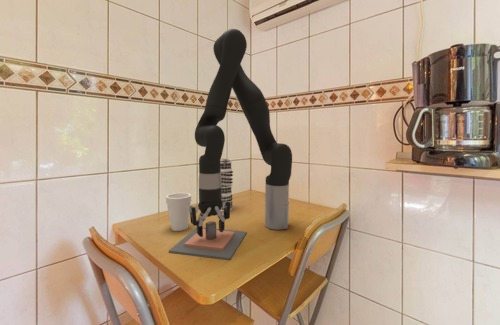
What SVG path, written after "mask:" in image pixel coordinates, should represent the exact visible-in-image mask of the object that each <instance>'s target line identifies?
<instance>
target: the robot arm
mask: <svg viewBox="0 0 500 325" xmlns="http://www.w3.org/2000/svg"><path fill="white" fill-rule="evenodd" d="M247 47H248V45H247V39H246V36H245V35H244V34H243V32H242V31H241V30H239V29H237V28H230V29H227V30H226V31H223V33H222V34H221V35H220V36H219V37H218V38H217V39H216V40H215V41H214V44H213V47H212V48H213V54H214V57H215V59H216V61H217V63H218V64H219V67H218V69H217V73H216V75H215V77H214V79H213V80H212V81H213V82H212V84H211V86H210V88H209V91H208V95H207V98H206V102H205V107H204V110H203V113H202V114H201V116H200V118H199V120H198V123H197V125H196V128H195V129H194V140H195V142H196V144H197V145H198V146H200V147H203V148H205V150H204V154H202V155H200V156H199V159H198V201H199V202H198V204H197V205H195V206H193V205H190V213H189V220H190V224H192V226H196V227H197V234H198V235H199V236H200V237H203V228H204V226H203V224H204V222H205V221H206V219H207V218H209V217H213V216H214V217H215V216H217V218H218V229H219V231H220V232H223V230H226V229H225V226H226V225H225V221H226V220H229V219H230V217H231V216H230V215H231V211H230V202H228V201H224V202H222V200H221V199H222V182H221V165H220V164H221V163H220V160H221V159H222V157H223V156H222V155H223V152H224V147H225V141H226V137H225V132H224V130H223V129H222V127H220V125H218V123H220V122H221V121H223V120H224V119H225V117H226V114H227V110H228V106H229V101H230V98H231V93H232V90H233V93H234V95H235V96H236V98H237V100H238V103H239V105H240V108H241V110H242V113H243V114H244V116H245V118H246V121H247V122H248V124H249V127H250V130H251V131H252V133H253V136H254V138H255V140H256V143H257V145H258V148H259V151H260V154H261V157H262V160H263V161H264V162H265V163H266V164H267V165H268V166H270V173H269V174H268V175H267V176H266V177H265V186H264V188H265V194H264V196H265V197H264V198H265V200H264V201H265V206H264V208H265V209H264V212H265V213H264V225H265V227H266V228H267V229H270V230H275V231H276V230H277V231H278V230H279V231H280V230H288V228H289V224H290V223H289V218H290V201H289V198H290V197H289V196H290V193H289V192H290V191H289V190H290V189H289V188H290V179H291V176H292V166H293V153H292V148H291V147H290V146H289V145H288V144H285V143H278V141H276V139H275V137H274V134H273V132H272V129H271V117H270V116H271V114H270V108H269V105H268V103H267V101H266V98H265V96H264V93H263V92H262V90H261V89H260V87H259V86H257V84H256V83H255V82H253V81H252V80H251V79H250V77H248V76H247V74H246V72H245V71H244V69H243V67H242V64H241V63H242V61H243V59H244V57H245V54H246V53H247V52H246V51H247ZM222 205H223V207H224V212H221V211H220V209H221V207H222ZM198 210H199V211H200V212H199V214H198V218H197V213H198Z"/></svg>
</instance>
